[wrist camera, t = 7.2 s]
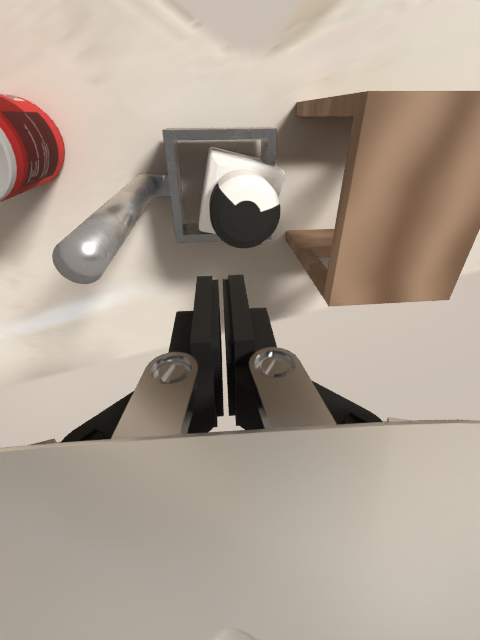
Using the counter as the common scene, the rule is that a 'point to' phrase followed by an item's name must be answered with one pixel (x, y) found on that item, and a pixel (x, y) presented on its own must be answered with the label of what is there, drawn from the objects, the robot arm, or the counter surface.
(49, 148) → the canned food
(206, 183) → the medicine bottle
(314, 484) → the robot arm
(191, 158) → the counter surface
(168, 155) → the grey metal post stand
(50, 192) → the counter surface
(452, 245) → the walnut tunnel
